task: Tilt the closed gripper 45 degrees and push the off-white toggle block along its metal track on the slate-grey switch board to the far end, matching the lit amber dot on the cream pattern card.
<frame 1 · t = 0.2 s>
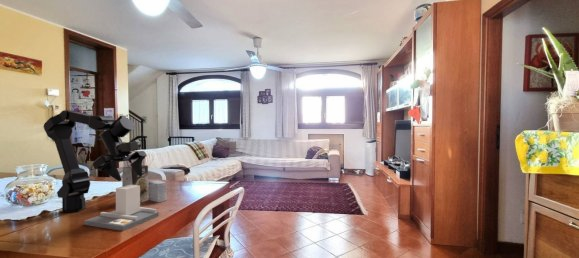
hand: (131, 178, 98), 15 cm above the table, tool tilted 35°, fingers open, 9 cm apart
coffee box: (135, 200, 120), on the table
toggle: (127, 199, 97), point 7 cm above the table, slide at 0.0 cm
switch board: (123, 220, 95), on the table
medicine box: (157, 200, 120), on the table
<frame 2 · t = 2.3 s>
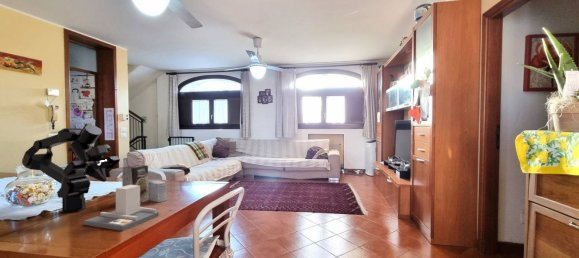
hand: (104, 180, 101), 13 cm above the table, tool tilted 45°, fingers closed
nothing on the table moved.
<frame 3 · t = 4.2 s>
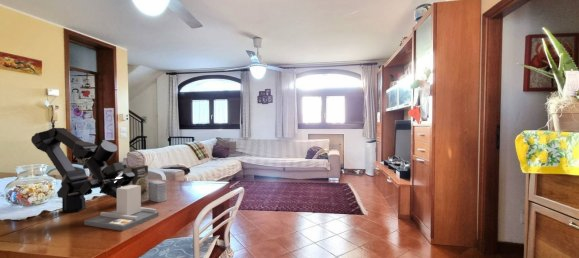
hand: (121, 199, 98), 7 cm above the table, tool tilted 45°, fingers closed, pressing on toggle
toggle: (128, 199, 97), point 7 cm above the table, slide at 0.4 cm, touching gripper
everything else where it was.
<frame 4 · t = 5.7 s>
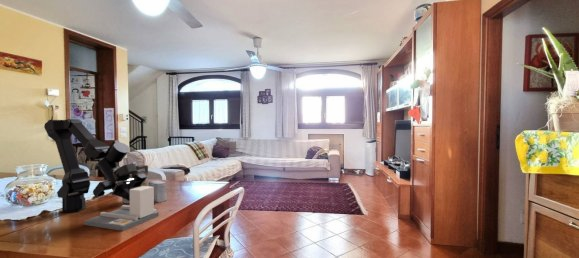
hand: (134, 201, 96), 7 cm above the table, tool tilted 45°, fingers closed
toggle: (140, 201, 95), point 7 cm above the table, slide at 6.7 cm
everything else where it was.
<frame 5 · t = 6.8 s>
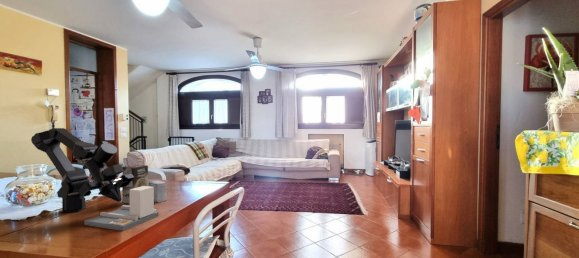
hand: (120, 201, 98), 6 cm above the table, tool tilted 45°, fingers closed
nothing on the table moved.
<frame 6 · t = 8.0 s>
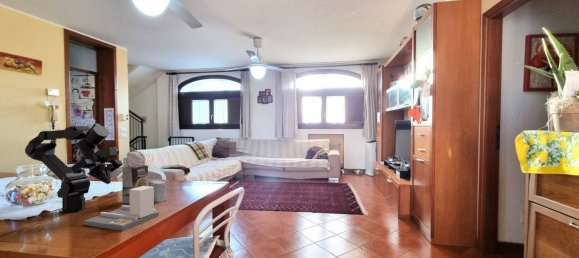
hand: (108, 183, 100), 12 cm above the table, tool tilted 40°, fingers closed
nothing on the table moved.
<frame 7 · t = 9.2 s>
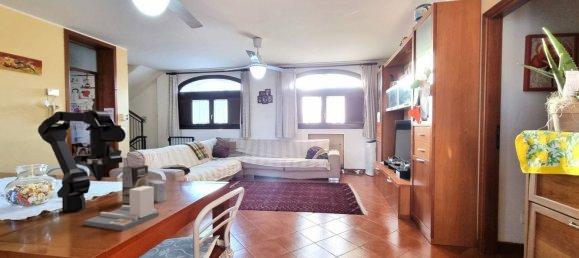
hand: (99, 180, 103), 13 cm above the table, tool pointing down, fingers closed
nothing on the table moved.
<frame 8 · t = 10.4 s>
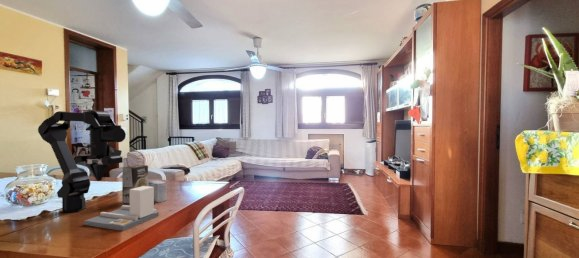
hand: (99, 180, 103), 13 cm above the table, tool pointing down, fingers closed
nothing on the table moved.
at the end: toggle slide at 6.7 cm; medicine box moved 0.3 cm from its start; coffee box moved 0.2 cm from its start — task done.
